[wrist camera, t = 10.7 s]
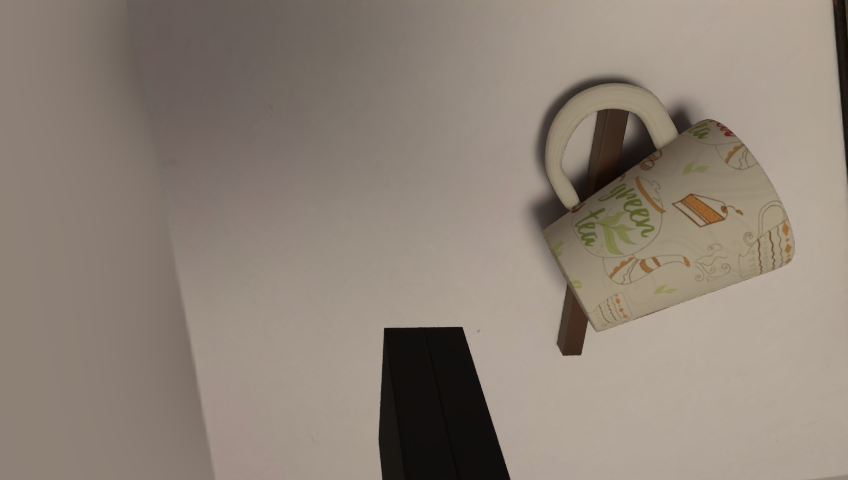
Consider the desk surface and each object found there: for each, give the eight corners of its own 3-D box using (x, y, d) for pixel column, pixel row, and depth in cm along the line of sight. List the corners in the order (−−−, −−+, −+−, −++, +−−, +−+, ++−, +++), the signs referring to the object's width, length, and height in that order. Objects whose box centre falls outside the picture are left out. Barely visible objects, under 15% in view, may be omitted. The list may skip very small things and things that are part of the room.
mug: (622, 378, 34) (819, 281, 33) (498, 147, 32) (703, 34, 31) (588, 323, 42) (745, 244, 41) (488, 136, 40) (650, 46, 39)
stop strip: (602, 89, 38) (610, 95, 36) (623, 90, 38) (632, 96, 37) (556, 344, 45) (562, 356, 43) (575, 344, 45) (581, 355, 44)
